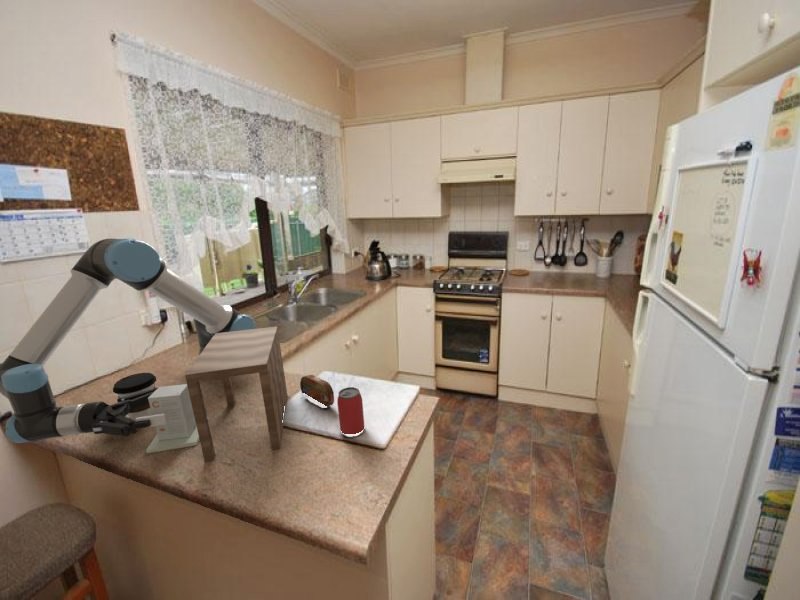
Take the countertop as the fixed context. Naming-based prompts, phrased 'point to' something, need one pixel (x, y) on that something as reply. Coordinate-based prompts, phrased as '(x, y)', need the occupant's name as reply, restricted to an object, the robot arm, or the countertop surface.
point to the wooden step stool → (240, 358)
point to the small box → (173, 411)
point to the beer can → (350, 411)
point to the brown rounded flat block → (317, 389)
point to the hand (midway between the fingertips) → (175, 404)
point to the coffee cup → (136, 391)
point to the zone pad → (173, 442)
